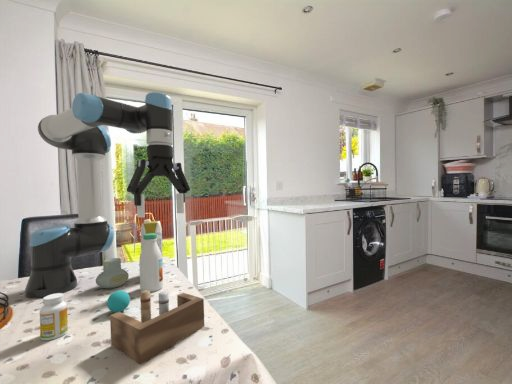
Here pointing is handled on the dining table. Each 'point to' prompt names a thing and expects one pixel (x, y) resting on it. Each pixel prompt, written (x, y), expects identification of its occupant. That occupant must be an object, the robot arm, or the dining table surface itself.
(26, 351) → the dining table surface
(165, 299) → the grey pin
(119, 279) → the air freshener
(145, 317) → the beech pin
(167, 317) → the walnut backstop
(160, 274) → the milk bottle
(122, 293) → the ball
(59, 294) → the supplement bottle
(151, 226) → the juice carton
